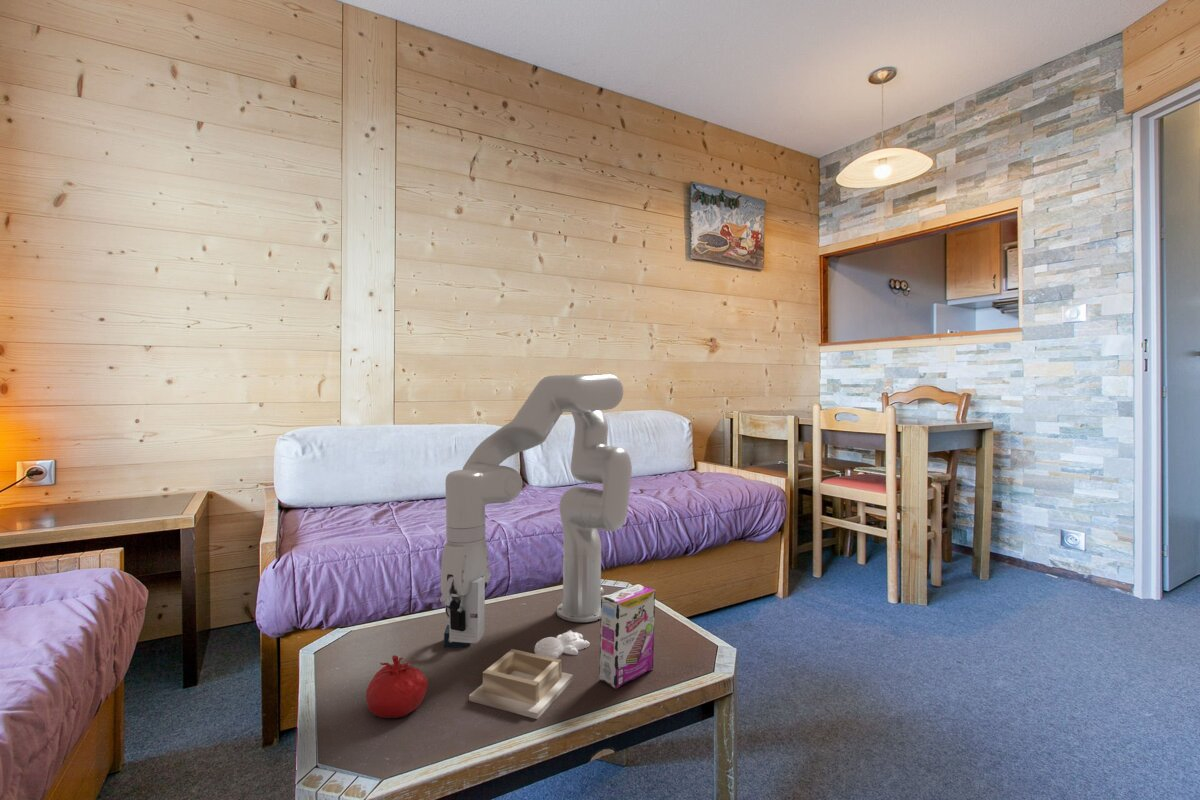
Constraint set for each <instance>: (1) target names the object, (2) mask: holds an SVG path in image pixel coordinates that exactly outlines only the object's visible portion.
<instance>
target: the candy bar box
mask: <svg viewBox="0 0 1200 800" xmlns="http://www.w3.org/2000/svg"><path fill="white" fill-rule="evenodd" d="M655 609H656V589H653V588H651V587H648V586H645V585H642V584H634V585H632V586H629V587H628V586H627V587H626V588H623V589H620V590H617V591H614V592H611V593H608V594H605V595H601V619H600V627H599V629H600V632H599V633H600V639H599V667H598V668H599V669H598V670H599V673H598V675H599V676H598V680H600V681H602V682H603V683H604V684H606V685H608V686H610V687H611V688H613V689H619V688H620V687H622V686H624V685H625V684H627V682H628V683H629V681H630V682H632V681H633V680H635V679H637V678H639V677H641V676H643V675H644V674H643V673H645V672H647V671H649V670H651V669H653V670H654V647H655V645H654V644H655V615H656V614H655V612H656V610H655ZM651 671H652V670H651ZM649 672H650V671H649ZM647 673H648V672H647ZM642 674H643V675H642ZM645 674H646V673H645ZM640 675H641V676H640ZM638 676H639V677H638ZM636 677H637V678H636ZM632 679H633V680H632ZM631 680H632V681H631Z"/></svg>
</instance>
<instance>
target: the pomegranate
mask: <svg viewBox="0 0 1200 800" xmlns="http://www.w3.org/2000/svg"><path fill="white" fill-rule="evenodd" d="M403 659H404V658H403V657H399V656H398V655H396V654H395V655H392V656H391V661H393V663H388V662H379V664H380V665H381V666H383V667H382V668H380V669H379V670H378V671H377V672H376V673H375V674H374V675H373V677H372V679H371V680H370V681H369V683H368V685H367V687H366V690H365V692H366V693H365V698H366V704H367V708H368V710H369V711H370V713H371V714H372V715H375V716H377V717H379V718H384V719H385V718H387V719H388V718H389V719H390V718H395V719H397V718H402V717H405V716H407V715H409V714H411V713H413V712H414V711H415V710H416V709H417V708H418V707H419V706H420V705H421V703H422V702H423V700H424V698H425V696H426V693H427V690H428V682H429V681H428V679H427V677H426V675H425V674H424V673H422V670H420V669H419V668H418V667H416V666H413V665H410V663H412V662H419V659H418V660H409V661H407V662H405V663H401V661H402V660H403Z"/></svg>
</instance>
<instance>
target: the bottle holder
mask: <svg viewBox="0 0 1200 800" xmlns="http://www.w3.org/2000/svg"><path fill="white" fill-rule="evenodd" d="M562 663H563V662H562V659H560V658H551V657H546V656H542V655H537V654H535V653H533V652H528V651H523V650H518V649H514V648H511V649H510V650H509V651H508V652H506V653H505V654H504V655H503V656H501V657H500V658H499V659H498V660H496V661H495V662H494V663H492V664H491V665H490V666H489V667H487V668H486V669H485V670H483V672H482V683H481V685H480V686H478V687H477V688H476V689H475V690H474V691H472V692H471V693H470V694H469V695H468V701H469V702H473V703H477V704H480V705H484V706H487V707H490V708H495V709H498V710H502V711H506V712H510V713H513V714H517V715H521V716H523V717H527V718H531V719H535V720H538V719H539V718H540V717H541V716H542V715H543V714H544V713H545V712H546V711H547V709H548V708H549V707H550V706H551V705H552V704H553V702H555V700H556V699H557V698H559V696H560V695H561V694H562V693H563V692H564V691H565V689H566V688H568V686H569V685H570V684H571V683H572V682H573V681H574V674H572V673H568V672H563V671H562V669H563V668H562V667H563V666H562Z"/></svg>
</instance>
